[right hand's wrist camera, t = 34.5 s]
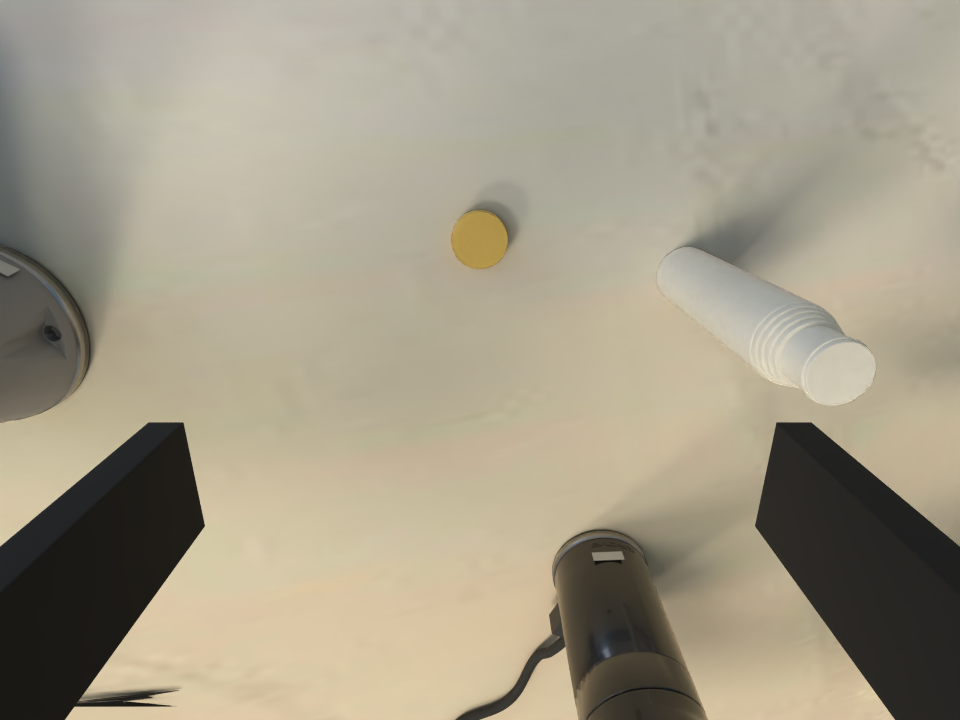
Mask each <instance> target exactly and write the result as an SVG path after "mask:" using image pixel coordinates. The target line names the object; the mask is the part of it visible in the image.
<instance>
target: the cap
mask: <svg viewBox="0 0 960 720" xmlns="http://www.w3.org/2000/svg"><path fill="white" fill-rule="evenodd" d="M451 244H452V249H453V251H454V254H455V255H456V257H457V258H458V260H459V261H460V262H462V263H463V264H464V265H466V266H468V267H470V268H474V269H485V268H489V267H491V266H493V265H495V264H496V263H498V262H499V261H500V260H501V259H502V257H503V256H504V254H505V252H506V249H507V245H508V235H507V231H506V228H505V226H504V224H503V222H502V221H501V219H500V218H499V217H498V216H496V215H495V214H493V213H491V212H489V211H486V210H473V211H470V212H468V213H466V214H464V215H463V216H462V217H461V218H460V219H459V220H458V221H457V222H456V224H455V226H454V229H453V232H452V237H451Z"/></svg>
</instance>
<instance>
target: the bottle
mask: <svg viewBox="0 0 960 720" xmlns="http://www.w3.org/2000/svg"><path fill="white" fill-rule="evenodd" d="M656 282H657V286H658V289H659V291H660V292H661V294H662V295H663V296H664V297H665V298H667V299H668V300H669V301H670V302H672V303H673V304H674V305H675V306H676V307H678V308H679V309H680V310H681V311H683V312H684V313H685V314H686V315H687V316H689V317H690V318H691V319H692V320H694V321H695V322H696V323H697V324H698V325H700V326H701V327H702V328H703V329H705V330H706V331H707V332H708V333H709V334H711V335H712V336H713V337H714V338H716V339H717V340H718V341H719V342H720V343H722V344H723V345H724V346H725V347H727V348H728V349H729V350H730V351H731V352H733V353H734V354H735V355H736V356H738V357H739V358H740V359H741V360H742V361H744V362H745V363H746V364H747V365H749V366H750V367H751V368H752V369H753V370H755V371H756V372H757V373H758V374H760V375H761V376H762V377H763V378H765V379H767V380H770V381H771V382H774V383H776V384H780V385H785V386H790V387H796V388H800V389H801V390H803V391H804V392H805V394H806V395H807V396H808V397H809V398H810V399H812V400H813V401H815V402H816V403H819V404H822V405H828V406H836V405H841V404H846V403H848V402H851V401H853V400H855V399H856V398H858V397H859V396H861V395H862V394H863V393H864V392H865V391H866V390H867V389H868V388H869V387H870V385H871V384H872V382H873V380H874V376H875V373H876V361H875V358H874V355H873V354H872V352H871V351H870V350H869V349H868V348H867V346H866V345H865V344H864V343H862V342H861V341H859V340H857V339H854V338H851V337H847V336H845V334H844V333H843V331H842V330H841V328H840V327H839V325H838V323H837V322H836V320H835V319H834V318H833V316H832V315H831V314H829V313H828V312H827V311H826V310H825V309H823V308H822V307H820V306H818V305H816V304H814V303H812V302H810V301H808V300H806V299H803V298H801V297H799V296H797V295H795V294H793V293H791V292H789V291H786V290H784V289H782V288H780V287H778V286H776V285H774V284H772V283H770V282H767V281H765V280H763V279H761V278H759V277H757V276H755V275H753V274H750V273H748V272H746V271H744V270H742V269H740V268H738V267H736V266H734V265H731V264H729V263H727V262H725V261H723V260H721V259H719V258H717V257H715V256H712V255H710V254H708V253H706V252H704V251H702V250H700V249H697V248H694V247H683V248H679V249H676V250H674V251H672V252H671V253H669V254H668V255H667V256H666V257H665V258H664V259H663V260H662V262H661V263H660V265H659V267H658V270H657V275H656Z"/></svg>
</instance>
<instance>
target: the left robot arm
mask: <svg viewBox="0 0 960 720" xmlns="http://www.w3.org/2000/svg"><path fill="white" fill-rule="evenodd" d="M552 575H553V581H554V586H555V588H556V593H557V599H558V603H557V605H556V606H555V608H554V609H553V610H552V612H551V613H550V614H549V617H550V624H551V630H552V634H554V635H557V636H559V637H560V638H559V639H558V640H557V641H555V642H554V643H553V644H552V645H550V646H549V647H547V648H543V649H540V650H538V651H536V652H535V653H534V654H533V655H532V656H531V657H530V659H529V660H528V662H527V664H526V666H525V667H524V670H523V672H522V674H521V676H520V678H519V680H518V682H517V684H516V685H515V687H514V688H513V690H512V691H511V692H510V693H509V694H508V695H507V696H506V697H505V698H504V699H502V700H501V701H499V702H497V703H495V704H493V705H491V706H488V707H486V708H483V709H480V710H477V711H474V712H471V713H469V714H467V715H464V716H463V717H461V718H459V719H458V720H480V719H483V718H486V717H489V716H492V715H494V714H497V713H499V712H501V711H503V710H504V709H506V708H508V707H509V706H510V705H511V704H513V703H514V702H515V701H516V700H517V698H518V697H519V696H520V695H521V693H522V692H523V690H524V688H525V686H526V684H527V682H528V680H529V678H530V676H531V674H532V672H533V670H534V668H535V667H536V665H537V664H538V663H539V662H540V661H541V660H542V659H545V658H549V657H552V656H553V655H555V654H557V653H558V652H559V651H561V650H562V649H563V648H564V647H565V646H566V651H567V657H568V663H569V669H570V675H571V680H572V686H573V692H574V698H575V704H576V708H577V714H578V720H708V718H707V716H706V713H705V711H704V708H703V706H702V703H701V701H700V698H699V696H698V693H697V691H696V688H695V686H694V683H693V681H692V678H691V676H690V673H689V671H688V668H687V666H686V663H685V661H684V658H683V656H682V653H681V651H680V648H679V646H678V643H677V641H676V638H675V636H674V633H673V631H672V628H671V625H670V623H669V620H668V618H667V615H666V613H665V610H664V608H663V605H662V603H661V600H660V598H659V595H658V593H657V590H656V588H655V585H654V582H653V580H652V577H651V575H650V572H649V570H648V566H647V562H646V559H645V557H644V554H643V552H642V550H641V549H640V547H639V546H638V545H637V544H636V543H635V542H634V541H633V540H632V539H630V538H629V537H627V536H625V535H623V534H620V533H617V532H612V531H592V532H588V533H584V534H581V535H579V536H577V537H575V538H573V539H571V540H570V541H569V542H567V543H566V544H565V545H564V546H563V547H562V548H561V549H560V550H559V552H558V553H557V555H556V557H555V559H554V562H553V567H552Z"/></svg>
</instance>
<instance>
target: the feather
mask: <svg viewBox="0 0 960 720" xmlns="http://www.w3.org/2000/svg"><path fill="white" fill-rule="evenodd" d="M174 691H177V692H178V690H174ZM167 692H173V691H165V692H157V693H148V694H139V695H130V696H121V697H112V698H103V699H95V700H86V701H78V702H77V704H76V705H75V706H74V707H131V706H169V705H158V704H153V703H136V702H126V701H131V700H133V699H134V700H140V699H144V698H149V699H151V698H153V697H149V696H150V695H156V694H161V693H167Z"/></svg>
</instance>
